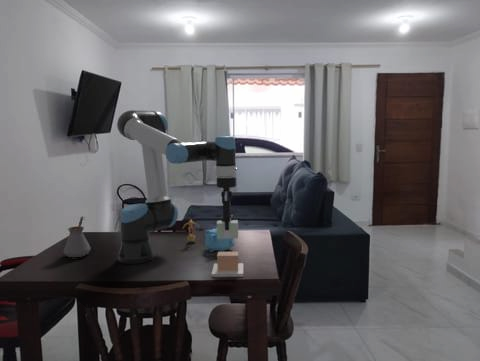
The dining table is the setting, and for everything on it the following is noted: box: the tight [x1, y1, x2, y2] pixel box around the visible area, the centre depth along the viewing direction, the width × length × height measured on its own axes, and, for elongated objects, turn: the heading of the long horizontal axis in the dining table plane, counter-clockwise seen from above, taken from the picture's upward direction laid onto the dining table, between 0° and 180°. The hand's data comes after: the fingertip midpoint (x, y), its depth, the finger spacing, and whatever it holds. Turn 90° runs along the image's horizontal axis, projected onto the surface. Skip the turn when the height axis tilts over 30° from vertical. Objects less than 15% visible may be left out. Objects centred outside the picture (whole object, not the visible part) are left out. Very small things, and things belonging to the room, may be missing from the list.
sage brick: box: [216, 219, 239, 239], centre depth 160 cm, size 8×5×6 cm, turn 89°
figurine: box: [182, 218, 200, 243], centre depth 203 cm, size 8×6×12 cm
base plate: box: [211, 262, 244, 278], centre depth 162 cm, size 12×12×1 cm
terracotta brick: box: [216, 251, 239, 271], centre depth 162 cm, size 8×5×6 cm, turn 89°
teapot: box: [204, 226, 235, 253], centre depth 191 cm, size 13×14×11 cm
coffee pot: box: [63, 216, 91, 258], centre depth 190 cm, size 21×12×15 cm, turn 9°
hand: (227, 235), depth 161 cm, fingers closed on sage brick, 5 cm apart
